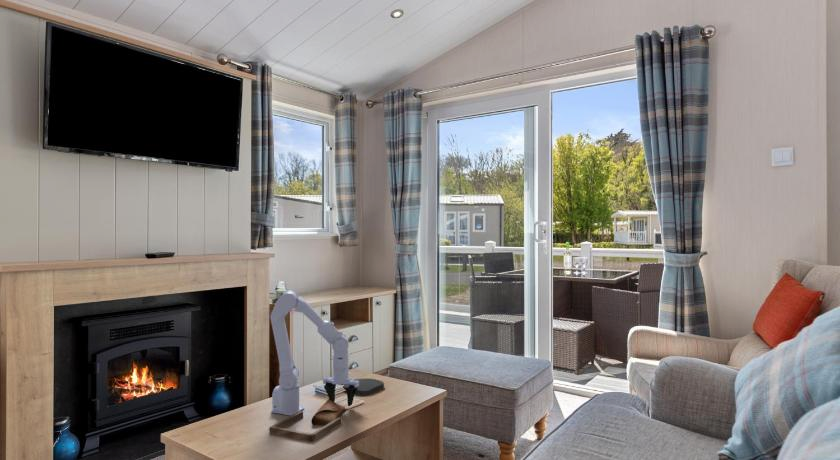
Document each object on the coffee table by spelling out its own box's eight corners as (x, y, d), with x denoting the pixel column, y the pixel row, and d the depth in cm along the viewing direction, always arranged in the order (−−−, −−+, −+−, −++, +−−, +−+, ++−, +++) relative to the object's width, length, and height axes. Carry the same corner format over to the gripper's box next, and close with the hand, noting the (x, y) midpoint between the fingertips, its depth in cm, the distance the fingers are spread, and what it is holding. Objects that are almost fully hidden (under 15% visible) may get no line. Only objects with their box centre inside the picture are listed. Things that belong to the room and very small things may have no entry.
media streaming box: (365, 397, 202) (365, 390, 202) (338, 391, 210) (338, 384, 210) (387, 388, 214) (387, 380, 214) (361, 382, 222) (361, 375, 222)
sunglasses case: (335, 425, 171) (325, 408, 172) (318, 435, 172) (308, 418, 172) (347, 407, 189) (338, 391, 190) (332, 416, 190) (323, 401, 190)
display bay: (269, 433, 166) (269, 427, 166) (300, 416, 181) (300, 411, 181) (313, 441, 159) (312, 435, 159) (341, 423, 174) (341, 417, 174)
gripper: (318, 368, 188) (318, 405, 188) (352, 372, 183) (352, 410, 183) (328, 364, 195) (329, 399, 195) (361, 367, 189) (362, 403, 189)
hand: (341, 404), depth 189 cm, fingers open, 7 cm apart
